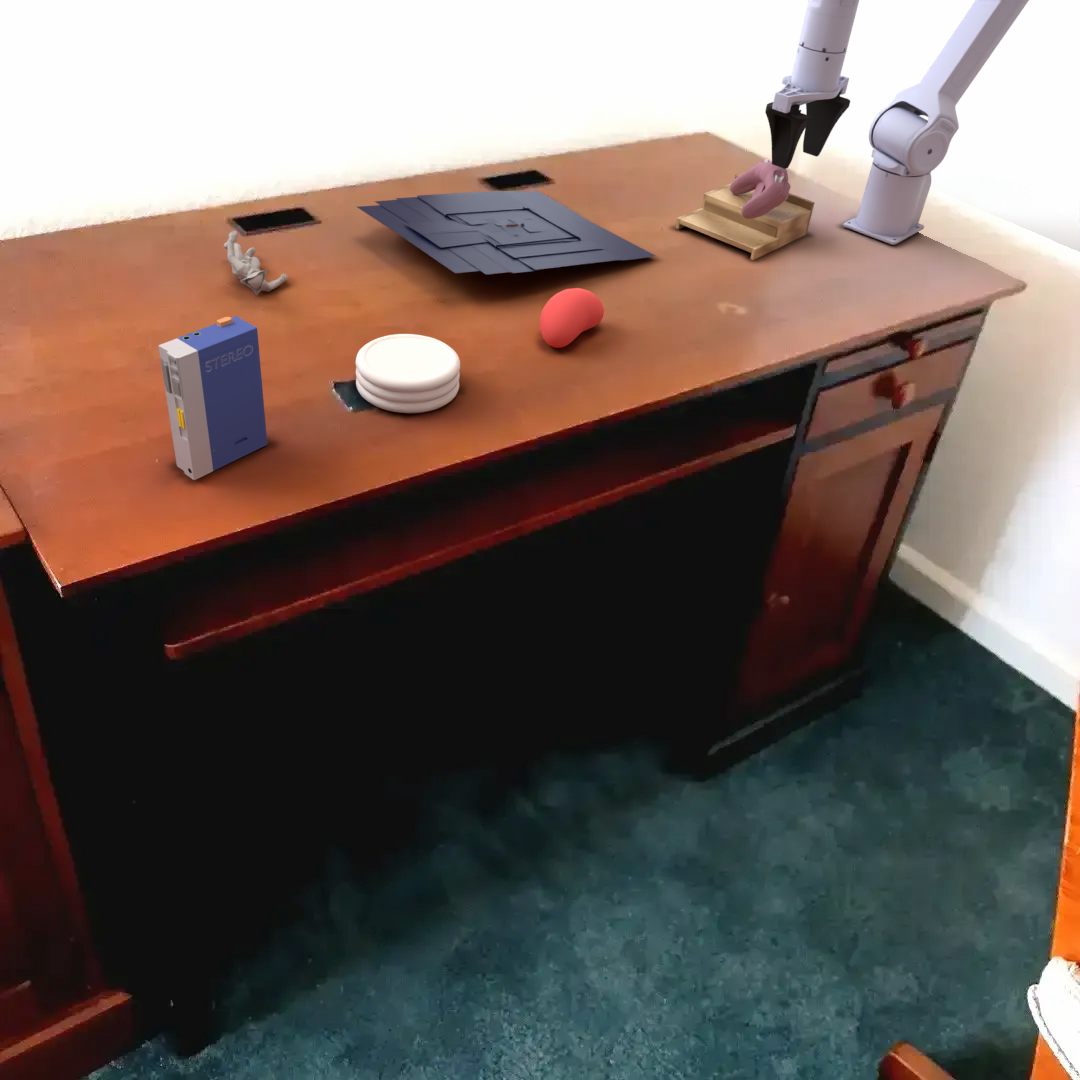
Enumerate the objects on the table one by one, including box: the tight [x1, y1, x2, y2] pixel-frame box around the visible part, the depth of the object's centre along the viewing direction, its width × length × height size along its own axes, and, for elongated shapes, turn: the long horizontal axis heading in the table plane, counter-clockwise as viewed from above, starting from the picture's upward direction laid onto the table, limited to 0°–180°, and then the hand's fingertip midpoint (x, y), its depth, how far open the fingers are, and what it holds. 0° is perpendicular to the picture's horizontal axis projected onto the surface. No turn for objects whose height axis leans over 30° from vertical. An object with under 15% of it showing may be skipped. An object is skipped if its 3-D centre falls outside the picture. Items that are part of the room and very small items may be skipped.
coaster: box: [355, 333, 461, 414], centre depth 103 cm, size 10×10×4 cm
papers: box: [356, 190, 656, 275], centre depth 131 cm, size 24×30×4 cm
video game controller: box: [730, 158, 791, 219], centre depth 139 cm, size 10×5×7 cm, turn 2°
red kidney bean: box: [539, 287, 605, 349], centre depth 114 cm, size 5×9×6 cm
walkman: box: [157, 315, 268, 481], centre depth 89 cm, size 8×3×12 cm, turn 140°
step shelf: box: [675, 173, 816, 261], centre depth 141 cm, size 14×12×4 cm
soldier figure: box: [223, 230, 289, 296], centre depth 117 cm, size 8×5×12 cm
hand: (795, 159), depth 136 cm, fingers open, 7 cm apart
